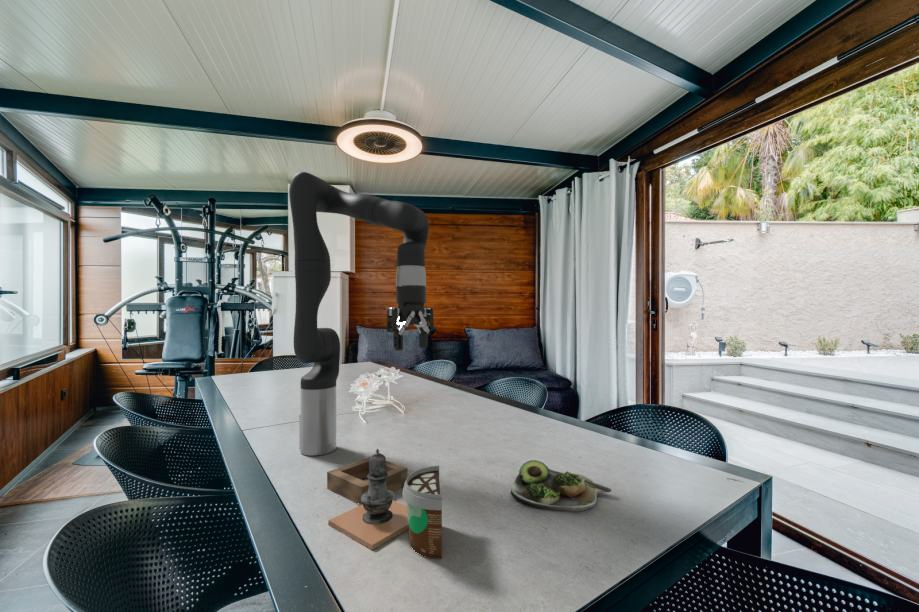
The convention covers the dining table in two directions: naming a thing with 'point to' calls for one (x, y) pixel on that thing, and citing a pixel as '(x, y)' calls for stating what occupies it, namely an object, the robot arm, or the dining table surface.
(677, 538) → the dining table surface
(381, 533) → the terracotta tile
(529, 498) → the avocado toast plate
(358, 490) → the walnut socket block
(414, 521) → the food container
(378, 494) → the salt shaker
